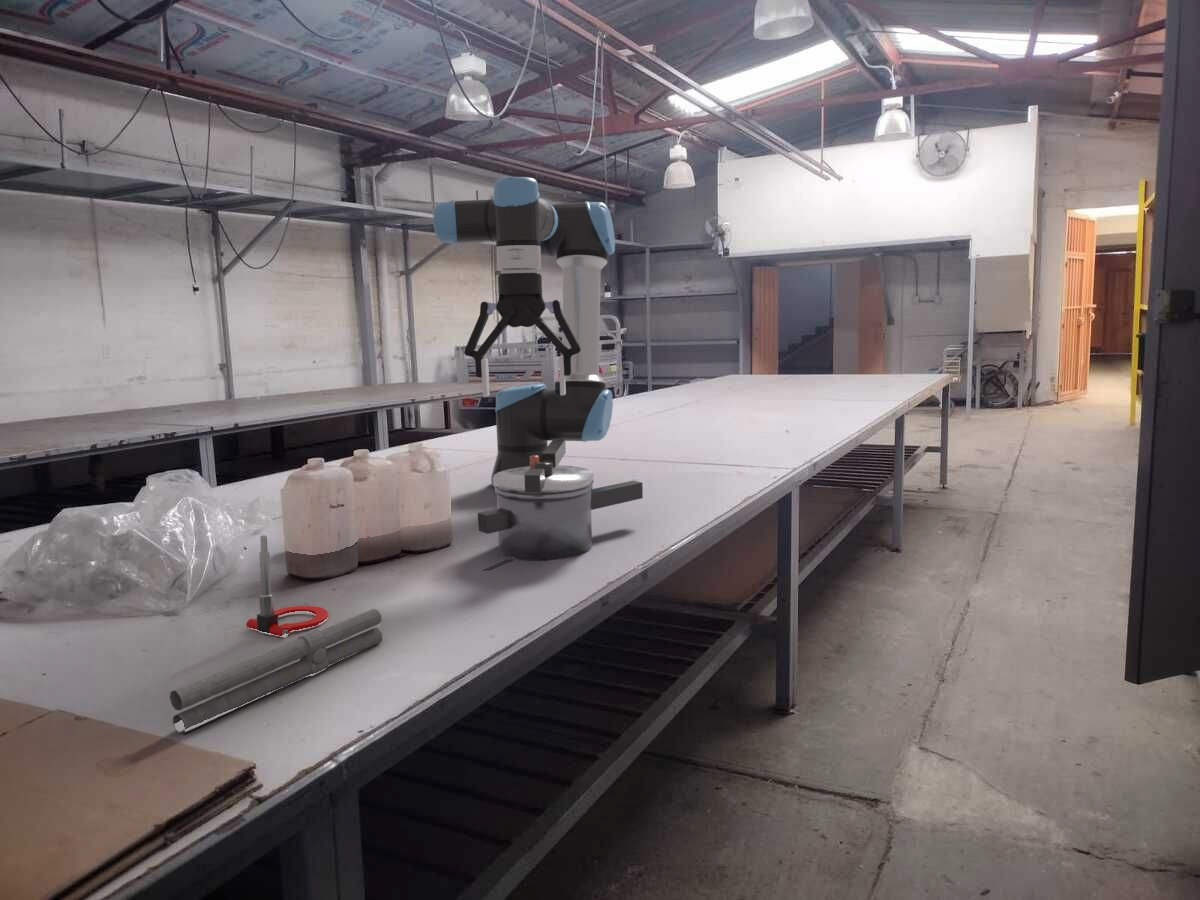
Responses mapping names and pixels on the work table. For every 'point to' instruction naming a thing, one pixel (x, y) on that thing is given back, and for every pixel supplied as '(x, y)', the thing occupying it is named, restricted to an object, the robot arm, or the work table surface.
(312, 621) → the tow hook
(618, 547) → the work table surface
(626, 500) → the pot
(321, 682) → the work table surface
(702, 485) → the work table surface
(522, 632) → the work table surface
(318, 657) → the metal rod assembly
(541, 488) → the lid
